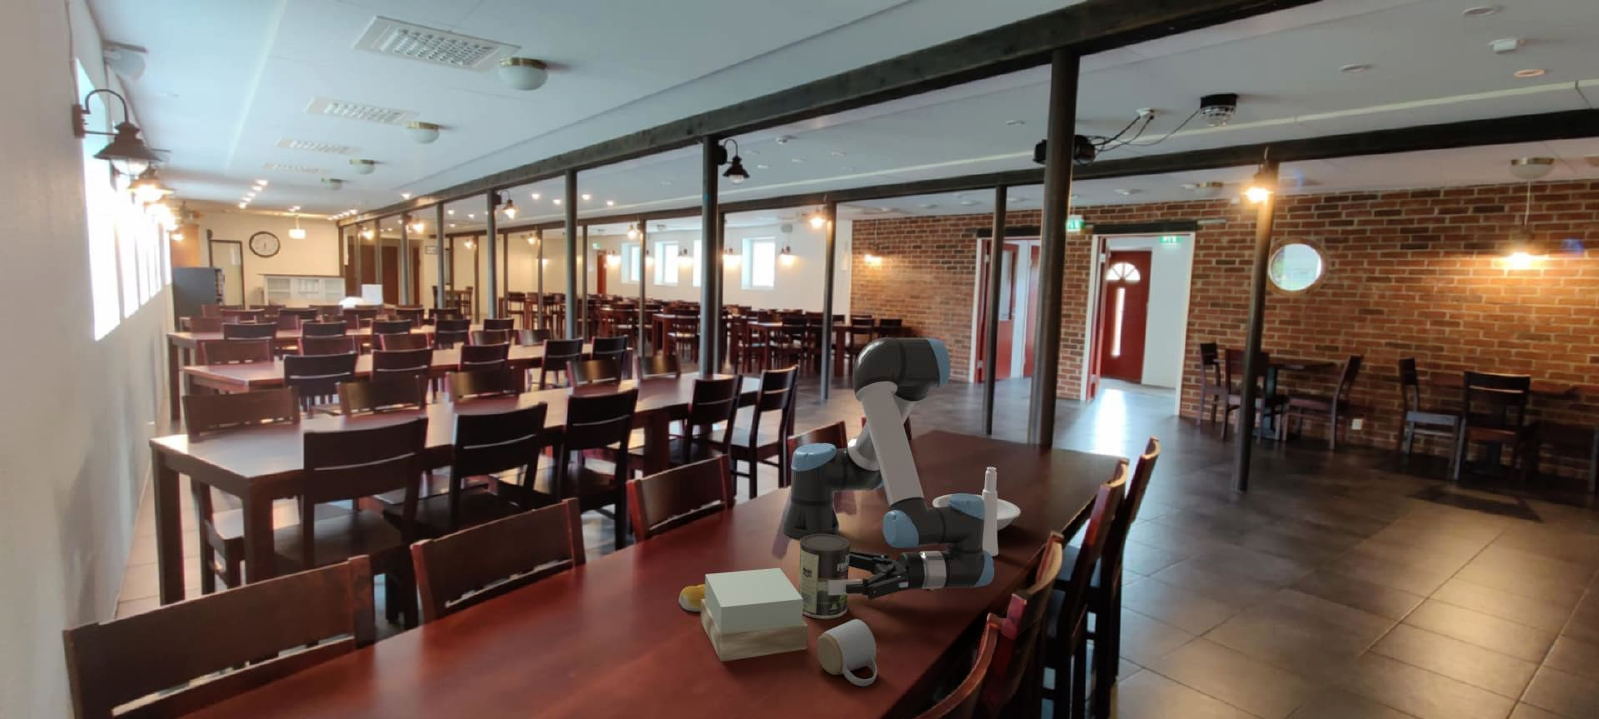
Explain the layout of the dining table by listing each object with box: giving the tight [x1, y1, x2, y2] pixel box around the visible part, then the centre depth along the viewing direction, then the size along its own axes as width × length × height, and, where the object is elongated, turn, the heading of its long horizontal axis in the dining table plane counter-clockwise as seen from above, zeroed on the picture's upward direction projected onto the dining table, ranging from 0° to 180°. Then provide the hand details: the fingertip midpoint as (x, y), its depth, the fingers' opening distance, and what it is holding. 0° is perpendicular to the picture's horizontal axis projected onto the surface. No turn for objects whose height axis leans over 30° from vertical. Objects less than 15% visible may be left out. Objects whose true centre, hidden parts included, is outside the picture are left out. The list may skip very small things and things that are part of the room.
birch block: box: [700, 599, 809, 662], centre depth 136 cm, size 16×16×5 cm
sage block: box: [704, 567, 803, 635], centre depth 135 cm, size 15×15×5 cm
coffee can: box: [798, 534, 851, 620], centre depth 148 cm, size 10×10×14 cm
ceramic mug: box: [816, 618, 878, 687], centre depth 123 cm, size 11×8×8 cm
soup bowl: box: [932, 493, 1021, 532], centre depth 203 cm, size 24×24×7 cm
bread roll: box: [678, 583, 705, 612], centre depth 149 cm, size 8×9×4 cm
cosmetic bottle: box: [981, 466, 999, 557], centre depth 184 cm, size 6×6×22 cm
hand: (820, 574), depth 147 cm, fingers open, 13 cm apart
